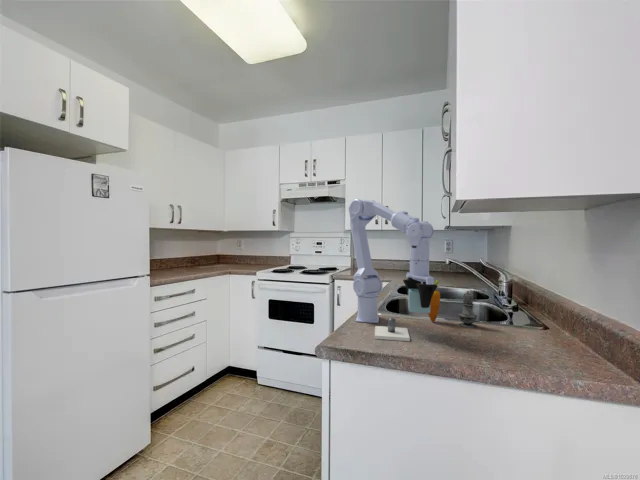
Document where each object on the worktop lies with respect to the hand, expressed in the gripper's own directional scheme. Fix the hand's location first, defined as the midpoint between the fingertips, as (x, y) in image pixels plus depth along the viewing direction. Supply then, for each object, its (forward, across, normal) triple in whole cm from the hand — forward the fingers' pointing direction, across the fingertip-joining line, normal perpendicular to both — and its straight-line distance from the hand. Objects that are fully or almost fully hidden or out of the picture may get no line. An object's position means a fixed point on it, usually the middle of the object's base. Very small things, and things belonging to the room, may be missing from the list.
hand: (418, 304), depth 94 cm
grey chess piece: (+10, -8, +21) cm, 25 cm away
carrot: (+10, -13, +12) cm, 20 cm away
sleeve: (+2, 0, 0) cm, 2 cm away
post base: (+9, -1, -8) cm, 13 cm away
